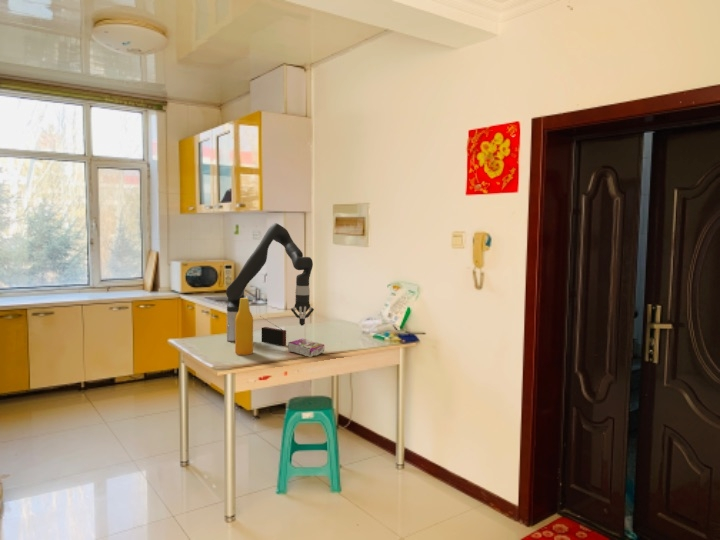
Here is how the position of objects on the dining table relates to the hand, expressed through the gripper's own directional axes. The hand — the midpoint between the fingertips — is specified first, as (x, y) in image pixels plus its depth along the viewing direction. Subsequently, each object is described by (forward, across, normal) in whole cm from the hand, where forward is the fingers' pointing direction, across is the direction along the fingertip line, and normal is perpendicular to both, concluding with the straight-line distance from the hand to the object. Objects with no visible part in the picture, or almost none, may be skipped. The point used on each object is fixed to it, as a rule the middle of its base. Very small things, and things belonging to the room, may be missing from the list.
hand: (302, 325), depth 286 cm
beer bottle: (+14, -31, -5) cm, 34 cm away
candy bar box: (+10, -4, -2) cm, 11 cm away
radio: (+14, -15, +17) cm, 26 cm away
